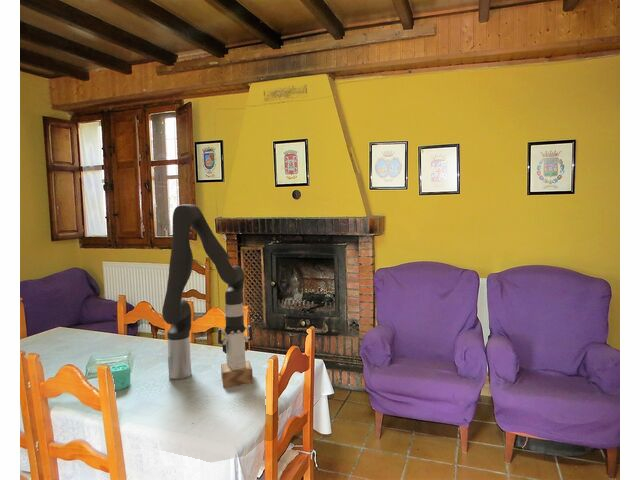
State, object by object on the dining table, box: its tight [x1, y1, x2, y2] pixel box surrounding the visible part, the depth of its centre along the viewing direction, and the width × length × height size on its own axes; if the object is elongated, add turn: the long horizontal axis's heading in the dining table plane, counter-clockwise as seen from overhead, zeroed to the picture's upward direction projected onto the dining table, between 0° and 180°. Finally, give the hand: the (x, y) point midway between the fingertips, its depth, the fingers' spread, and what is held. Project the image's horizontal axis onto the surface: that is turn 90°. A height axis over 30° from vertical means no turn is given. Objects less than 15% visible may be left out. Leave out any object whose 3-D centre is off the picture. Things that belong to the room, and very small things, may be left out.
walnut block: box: [220, 360, 254, 388], centre depth 177 cm, size 12×10×6 cm
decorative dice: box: [109, 363, 131, 391], centre depth 174 cm, size 8×8×8 cm
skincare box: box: [224, 332, 247, 370], centre depth 176 cm, size 8×6×15 cm
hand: (235, 351), depth 176 cm, fingers open, 8 cm apart
